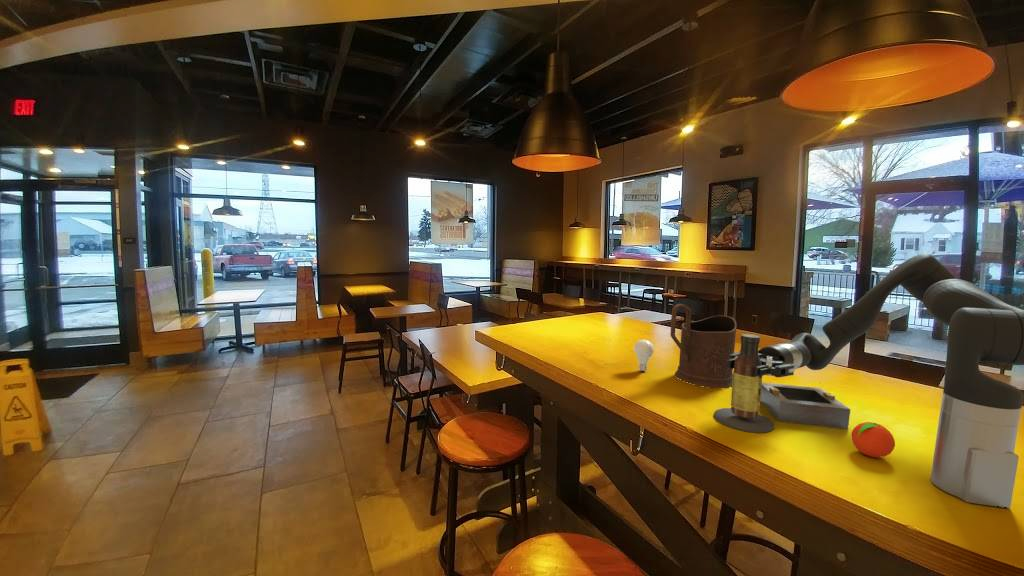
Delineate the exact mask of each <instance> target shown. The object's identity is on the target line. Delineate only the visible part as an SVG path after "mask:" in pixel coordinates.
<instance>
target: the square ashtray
mask: <svg viewBox="0 0 1024 576" xmlns="http://www.w3.org/2000/svg"><path fill="white" fill-rule="evenodd" d="M760 404H762V406H764V407H765V409H766V410H767V411H768V412H769V413H770V415H772V417H774V418H775V420H776V421H777V422H780V423H781V422H783V423H790V424H800V425H807V426H808V425H810V426H818V427H825V428H826V427H827V428H834V429H835V428H836V429H843V430H844V429H845V430H849V425H850V424H849V423H850V417H851V408H850V407H848V406H847V405H845V404H844V403H842V402H841V401H839V399H837V398H836V396H835V395H834V394H833V393H831V392H827V391H825V390H824V389H823V388H822V387H815V386H814V387H813V386H803V385H792V384H781V383H773V382H772V383H771V382H762V387H761V399H760Z"/></svg>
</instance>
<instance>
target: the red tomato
mask: <svg viewBox="0 0 1024 576" xmlns="http://www.w3.org/2000/svg"><path fill="white" fill-rule="evenodd" d="M850 437H851V438H850V439H851V441H852V444H853V445H854V446H855V448H856V449H857V451H859V452H861V453H862V454H863V455H866V456H869V457H872V458H884V457H887V456H888V455H891V454H892V453H893V451H894V449H895V447H896V441H895V438H894V434H892V432H891V431H890V430H888V429H887V428H886V427H885V426H883V425H881V424H878V423H876V422H872V421H871V422H869V421H866V422H863V423H862V422H861V423H859V424H857V425H855V426H854V427H853V429H852V431H851V434H850Z"/></svg>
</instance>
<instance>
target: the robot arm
mask: <svg viewBox="0 0 1024 576" xmlns="http://www.w3.org/2000/svg"><path fill="white" fill-rule="evenodd" d="M899 286H901V287H902V288H903V289H905V290H906V291H907V292H908V294H910V296H912V297H913V298H914V299H916V300H918V301H919V302H921V303H923V305H924V307H925V309H926V310H927V312H928V313H929V314H930V315H931V316H932V317H933V318H934V319H935V320H937V321H939V322H940V323H942V324H944V325H945V326H947V327H948V330H947V343H946V345H947V347H946V348H947V349H946V357H945V358H946V359H945V369H944V380H943V381H944V382H943V391H942V396H941V404H940V410H939V416H938V422H937V424H938V425H937V430H936V437H935V444H934V446H935V447H934V452H933V456H932V457H933V459H932V466H931V473H930V482H931V483H932V484H933V485H934V486H936V487H937V488H938V489H941V491H943V492H946V493H948V494H950V495H952V496H954V497H956V498H959V499H961V500H963V501H964V502H966V503H970V504H975V505H976V504H977V505H984V506H991V507H997V506H999V508H1004V507H1007V508H1006V509H1011V508H1012V507H1011V505H1012V499H1013V494H1014V488H1015V483H1016V478H1017V477H1016V476H1017V471H1018V470H1017V469H1018V464H1019V458H1020V456H1019V455H1018V454H1017V453H1015V448H1016V444H1017V443H1016V442H1017V437H1018V431H1019V427H1020V426H1019V425H1020V421H1021V420H1020V419H1021V414H1022V408H1023V403H1024V393H1023V391H1022V390H1021V389H1019V388H1017V387H1016V386H1014V385H1011V384H1009V383H1006V382H1004V381H1001V380H998V379H995V378H994V377H991V376H989V375H988V374H986V373H983V372H982V371H981V370H980V366H979V362H985V363H994V364H1002V365H1010V366H1024V309H1021V308H1019V307H1017V306H1013V305H1012V304H1008V303H1006V302H1004V301H1003V300H1000V299H999V298H997V297H996V296H993V295H992V294H990V293H988V292H986V291H985V290H984V289H983V288H981V287H979V286H977V284H975V283H973V282H970V281H967V280H963V279H960V278H958V277H957V276H956V275H955V274H954V273H953V272H952V271H951V270H950V269H949V268H948V267H947V266H945V265H944V264H943V263H942V262H941V261H939V259H937V258H936V257H935V256H933V255H932V254H929V253H921V254H917V255H914V256H912V257H910V258H909V259H906V260H905V261H903V262H902V263H900V264H899V265H897V266H896V267H895V268H894V269H893V270H891V272H889V273H888V274H886V275H885V277H883V278H882V279H881V280H880V281H879V282H877V283H876V284H875V285H874V286H873V287H872V288H871V289H870V290H868V291H867V292H866V293H865V294H864V295H863V296H862V297H861V298H860V299H858V300H857V301H856V302H854V303H853V304H852V305H851V306H849V308H847V309H846V310H844V311H843V312H841V313H840V314H838V315H837V316H835V317H834V318H832V319H831V320H829V321H828V322H826V323H825V324H824V325H823V326H822V332H823V333H824V335H825V336H826V338H827V339H828V340H829V345H828V346H827V347H826V346H825V345H824V344H823V343H822V342H821V341H819V340H818V339H817V338H816V337H815V336H814V335H813V334H811V333H808V332H801V333H798V334H796V335H795V336H794V337H793V338H792V339H791V340H790V341H789V342H786V343H778V344H777V343H776V344H772V345H767V346H763V347H761V348H760V349H758V354H759V358H760V361H761V365H762V366H758V367H755V372H754V376H757V377H759V376H762V377H763V376H769V377H771V376H772V377H775V378H785V377H790V376H794V373H795V370H796V369H800V368H804V367H806V368H808V369H809V370H812V371H821V370H823V369H825V368H826V367H828V365H829V364H831V362H832V361H833V359H835V357H836V356H837V354H839V353H840V351H841V350H842V349H844V348H845V347H846V346H847V345H848V344H850V343H851V342H853V341H854V340H856V339H857V338H859V337H861V336H862V335H863V334H865V333H866V332H868V331H869V330H870V329H871V328H872V327H873V326H874V325H875V324H876V321H877V320H878V317H879V315H880V313H881V310H882V308H883V307H884V304H885V302H886V300H887V298H888V297H889V296H890V294H891V293H892V292H893V291H894V290H895V289H897V288H898V287H899ZM740 353H741V352H740V351H735V352H734V353H733V354H730V360H727V367H728V368H729V369H733V370H734V363H735V360H736V358H737V357H738V356H739V355H740Z"/></svg>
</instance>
